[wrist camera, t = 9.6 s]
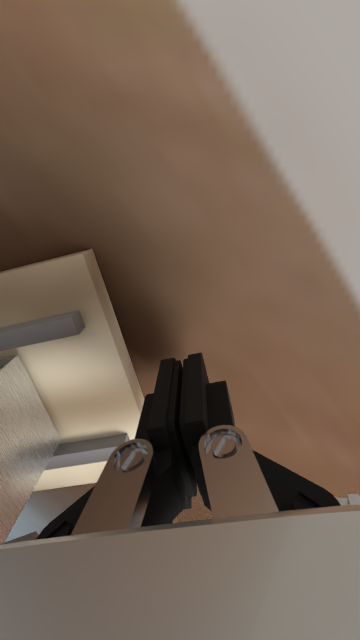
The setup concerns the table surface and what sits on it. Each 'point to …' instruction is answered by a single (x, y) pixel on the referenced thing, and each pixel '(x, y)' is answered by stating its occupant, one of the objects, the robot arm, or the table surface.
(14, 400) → the knobbed grey slider
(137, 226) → the table surface
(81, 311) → the gauge bed
